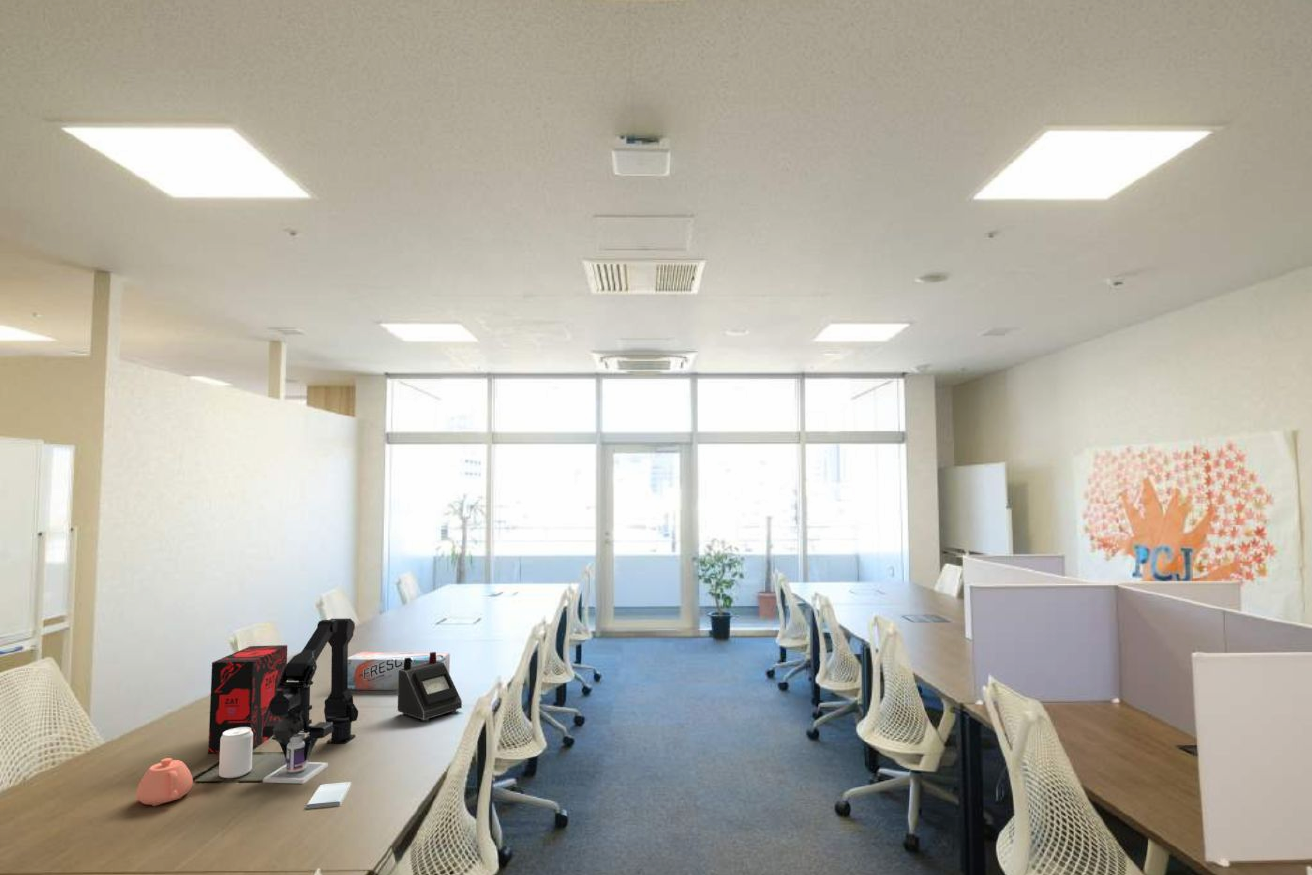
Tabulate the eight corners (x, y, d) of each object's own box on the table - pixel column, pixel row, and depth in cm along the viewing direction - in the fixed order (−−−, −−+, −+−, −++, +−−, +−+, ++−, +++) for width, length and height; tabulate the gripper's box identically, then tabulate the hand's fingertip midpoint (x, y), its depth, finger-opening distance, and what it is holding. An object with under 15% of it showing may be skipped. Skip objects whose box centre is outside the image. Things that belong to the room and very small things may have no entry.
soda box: (341, 691, 279) (342, 659, 280) (357, 681, 293) (358, 651, 294) (438, 691, 277) (439, 659, 278) (450, 682, 291) (451, 651, 292)
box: (249, 752, 213) (252, 661, 215) (208, 754, 212) (212, 662, 214) (284, 727, 236) (287, 645, 238) (247, 728, 235) (250, 646, 237)
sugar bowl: (183, 784, 189) (185, 747, 190) (201, 798, 180) (202, 759, 181) (129, 800, 180) (131, 760, 181) (145, 816, 171) (147, 774, 172)
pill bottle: (310, 764, 199) (311, 730, 199) (301, 772, 193) (302, 737, 194) (291, 765, 199) (292, 731, 199) (282, 773, 193) (283, 737, 194)
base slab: (289, 765, 202) (289, 761, 202) (327, 766, 201) (328, 762, 201) (262, 782, 190) (263, 778, 190) (303, 783, 189) (303, 779, 189)
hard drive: (340, 801, 176) (351, 781, 188) (306, 804, 174) (319, 784, 186) (340, 807, 176) (351, 787, 188) (305, 811, 174) (319, 790, 186)
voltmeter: (423, 724, 238) (425, 665, 239) (397, 715, 248) (398, 659, 249) (462, 712, 250) (462, 656, 252) (435, 703, 260) (436, 650, 262)
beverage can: (214, 781, 191) (216, 737, 192) (224, 769, 199) (226, 727, 200) (246, 777, 194) (248, 734, 195) (255, 766, 201) (256, 725, 202)
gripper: (249, 713, 190) (247, 770, 189) (312, 714, 189) (310, 772, 187) (275, 700, 201) (273, 754, 200) (335, 701, 200) (333, 756, 198)
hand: (297, 759), depth 196 cm, fingers closed on pill bottle, 5 cm apart
